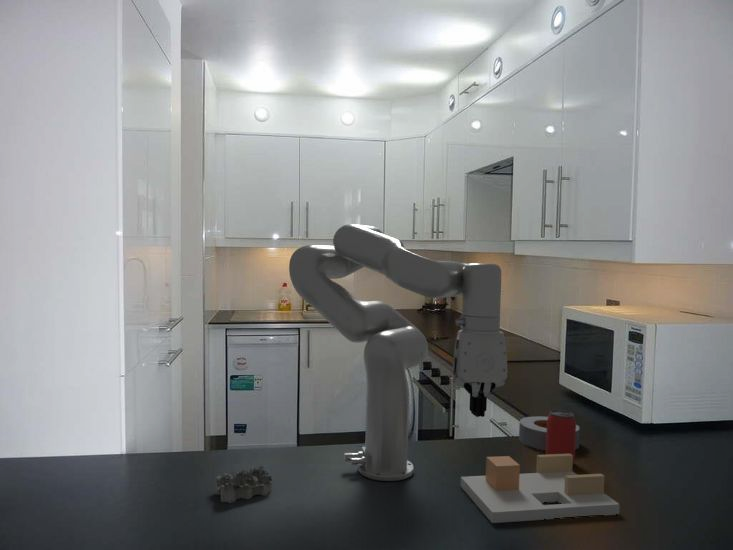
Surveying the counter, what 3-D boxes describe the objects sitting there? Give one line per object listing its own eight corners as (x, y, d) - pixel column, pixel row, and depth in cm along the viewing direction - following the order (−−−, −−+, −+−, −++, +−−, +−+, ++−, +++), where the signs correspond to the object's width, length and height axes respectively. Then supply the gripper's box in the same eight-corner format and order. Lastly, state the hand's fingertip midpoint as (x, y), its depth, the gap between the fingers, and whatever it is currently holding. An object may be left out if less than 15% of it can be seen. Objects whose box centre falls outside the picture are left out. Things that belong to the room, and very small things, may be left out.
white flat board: (492, 523, 98) (493, 493, 98) (458, 483, 115) (459, 458, 115) (619, 514, 103) (620, 486, 103) (568, 477, 120) (569, 453, 120)
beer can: (576, 469, 125) (578, 418, 125) (547, 466, 126) (549, 415, 126) (571, 458, 132) (573, 410, 131) (543, 456, 133) (545, 408, 132)
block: (495, 491, 107) (496, 466, 107) (485, 480, 112) (486, 457, 112) (518, 489, 108) (519, 465, 108) (507, 479, 113) (508, 456, 113)
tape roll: (512, 432, 152) (513, 414, 151) (567, 434, 151) (568, 416, 151) (527, 451, 136) (528, 432, 136) (588, 454, 136) (589, 434, 136)
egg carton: (221, 506, 102) (221, 485, 102) (212, 490, 109) (213, 470, 109) (275, 495, 107) (275, 475, 107) (263, 481, 114) (264, 462, 114)
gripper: (451, 326, 103) (448, 421, 103) (523, 326, 106) (520, 419, 106) (439, 322, 110) (436, 410, 111) (506, 322, 113) (504, 408, 113)
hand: (477, 414), depth 108 cm, fingers closed
